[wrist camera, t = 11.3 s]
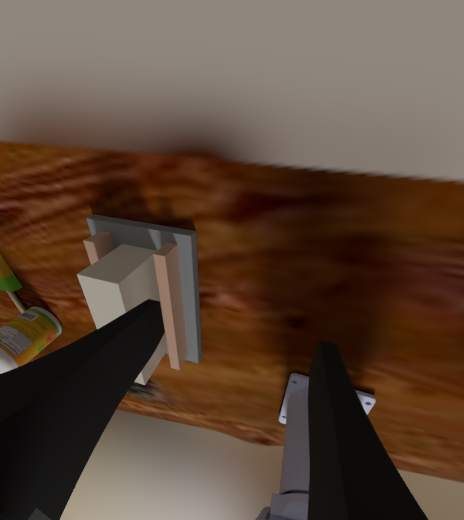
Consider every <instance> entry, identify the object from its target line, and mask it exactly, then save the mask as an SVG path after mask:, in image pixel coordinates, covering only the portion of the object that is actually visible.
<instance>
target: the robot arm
mask: <svg viewBox="0 0 464 520" xmlns="http://www.w3.org/2000/svg"><path fill="white" fill-rule="evenodd" d="M164 333H165V329H164V323H163V317H162V310H161V304H160V301H156V300H152V299H147V300H146V301H144V302H142V303H141V304H139V305H137V306H136V307H134V308H132V309H131V310H129V311H128V312H126V313H124V314H123V315H121V316H119V317H118V318H116V319H114V320H113V321H111V322H109V323H108V324H106V325H104V326H103V327H101V328H99V329H97V330H95V331H94V332H92V333H90V334H88V335H86V336H84V337H83V338H81V339H79V340H77V341H75V342H73V343H71V344H69V345H67V346H65V347H63V348H61V349H59V350H57V351H55V352H53V353H50V354H48V355H46V356H44V357H41V358H39V359H37V360H34V361H32V362H29V363H27V364H24V365H22V366H20V367H17V368H15V369H12V370H10V371H7V372H4V373H2V374H0V520H60V517H61V515H62V513H63V511H64V509H65V507H66V504H67V502H68V500H69V498H70V496H71V494H72V492H73V489H74V488H75V485H76V483H77V481H78V479H79V477H80V475H81V473H82V471H83V469H84V467H85V465H86V463H87V462H88V459H89V458H90V456H91V454H92V452H93V450H94V448H95V446H96V444H97V442H98V441H99V439H100V437H101V435H102V433H103V431H104V429H105V428H106V426H107V424H108V422H109V420H110V419H111V417H112V415H113V413H114V412H115V410H116V408H117V407H118V405H119V403H120V402H121V400H122V399H123V397H124V396H125V394H126V393H127V391H128V390H129V388H130V387H131V386H132V384H133V383H134V381H135V380H136V378H137V377H138V375H139V374H140V373H141V371H142V370H143V368H144V367H145V365H146V364H147V362H148V361H149V360H150V358H151V357H152V355H153V354H154V352H155V350H156V348H157V347H158V345H159V343H160V341H161V339H162V337H163V335H164ZM375 402H376V399H375V396H373V395H371V394H368V393H365V392H361V391H357V390H355V389H354V386H353V384H352V382H351V379H350V377H349V375H348V372H347V370H346V367H345V365H344V362H343V360H342V357H341V354H340V351H339V348H338V346H337V345H336V344H332V343H328V342H324V341H320V342H319V345H318V348H317V351H316V354H315V357H314V360H313V363H312V366H311V369H310V373H309V377H308V376H304V375H300V374H297V373H292V374H291V375H290V378H289V382H288V386H287V389H286V393H285V397H284V400H283V404H282V408H281V412H280V415H279V421H280V422H281V423H283V424H286V429H285V439H284V450H283V460H282V470H281V480H280V491H279V494H272V498H271V506H270V507H265V508H264V509H263V510H262V511H261V513H260V514H259V516H258V517H257V518H256V520H428V518H427V517H426V515H425V514H424V512H423V511H422V509H421V508H420V506H419V505H418V503H417V502H416V500H415V499H414V497H413V495H412V494H411V492H410V490H409V489H408V487H407V486H406V484H405V482H404V481H403V479H402V477H401V476H400V474H399V473H398V471H397V469H396V467H395V466H394V464H393V462H392V460H391V459H390V457H389V455H388V454H387V452H386V450H385V448H384V446H383V445H382V443H381V441H380V439H379V437H378V435H377V434H376V432H375V430H374V428H373V426H372V424H371V422H370V420H369V418H368V416H367V415H368V413H369V411H370V410H371V408H372V407H373V405H374V404H375Z"/></svg>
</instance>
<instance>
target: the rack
mask: <svg viewBox="0 0 464 520" xmlns="http://www.w3.org/2000/svg"><path fill="white" fill-rule="evenodd" d="M87 222H88V225H89V228H90V232H91V235H92V236H91V237H89V238H87V239H85V240H83V241H84V244H85V247H86V250H87V253H88V256H89V259H90V263H91V265H92V264H93V263H95V262H96V261H98V260H99V259H101V258H102V257H104V256H105V255H107V254H108V253H110V252H111V251H113V250H114V249H116V248H117V247H119V246H120V245H122V244H125V245H130V246H136V247H141V248H146V249H151V250H156V252H155V253H154V254H153V256H154V262H155V269H156V275H157V282H158V288H159V294H160V301H161V307H162V313H163V320H164V326H165V332H166V339H167V345H168V349H167V351H166V353H165V354H169V358H170V364H171V368H174V369H177V370H180V368H181V367H182V365H183V363H184V361H185V360H189V361H192V362H195V363H199V361H200V359H201V357H202V348H201V327H200V305H199V284H198V262H197V241H196V231H193V230H187V229H181V228H175V227H168V226H162V225H156V224H150V223H144V222H138V221H132V220H126V219H120V218H114V217H108V216H102V215H96V214H95V215H93V216H90V217H88V218H87Z"/></svg>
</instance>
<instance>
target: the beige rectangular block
mask: <svg viewBox="0 0 464 520" xmlns="http://www.w3.org/2000/svg"><path fill="white" fill-rule="evenodd" d="M155 252H156V250H151V249H146V248H141V247H136V246H130V245H125V244H122V245H120V246H119V247H117V248H116V249H114V250H113V251H111V252H110V253H108V254H107V255H105V256H104V257H102V258H101V259H99V260H98V261H96V262H95V263H93V264H92V265H90V266H89V267H87V268H86V269H84V270H83V271H81V272H80V273H78V274H77V276H78V279H79V281H80V284H81V287H82V289H83V292H84V295H85V298H86V300H87V303H88V306H89V309H90V311H91V314H92V317H93V319H94V322H95V325H96V328H97V329H99V328H101V327H103V326H104V325H106V324H108V323H109V322H111V321H113V320H114V319H116V318H118V317H119V316H121V315H123V314H124V313H126V312H128V311H129V310H131V309H132V308H134V307H136V306H137V305H139V304H141V303H142V302H144V301H146V300H147V299H152V300H156V301H160V294H159V288H158V282H157V275H156V269H155V262H154V256H153V254H154V253H155ZM160 304H161V301H160ZM161 310H162V307H161ZM162 317H163V313H162ZM163 323H164V320H163ZM164 329H165V326H164ZM167 349H168V345H167V339H166V332H165V333H164V335H163V337H162V339H161V341H160V343H159V345H158V347H157V348H156V350H155V352H154V354H153V355H152V357H151V358H150V360H149V361H148V362H147V364H146V365H145V367H144V368H143V370H142V371H141V373H140V374H139V375H138V377H137V378H136V380H135V382H137V383H140V384H143V385H145V384H146V383H147V381H148V379H149V378H150V376H151V375H152V373H153V372H154V370H155V368H156V367H157V365H158V364H159V362H160V361H161V359H162V357H163V356H164V354H165V353H166V351H167Z"/></svg>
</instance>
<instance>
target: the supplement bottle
mask: <svg viewBox="0 0 464 520" xmlns="http://www.w3.org/2000/svg"><path fill="white" fill-rule="evenodd" d="M61 332H62V326H61V324H60V322H59V321H58V319H57V318H56V317H55V316H54V315H53V314H51V313H50V312H49V311H47V310H45V309H43V308H41V307H31V308H30V309H28V310H26V311H25V312H23V313H22V314H20V315H19V316H18V317H16V318H15V319H13V320H12V321H10V322H9V323H7V324H6V325H4V326H3V327H1V328H0V374H2V373H4V372H7V371H10V370H12V369H15V368H17V367H20V366H22V365H24V364H26V363H27V362H28V361H30V360H31V359H32V358H33V357H34V356H35V355H37V354H38V353H39V352H40V351H41V350H42V349H43V348H45V347H46V346H47V345H48V344H49V343H50V342H52V341H53V340H54V339H55V338H56V337H57V336H59V335H60V334H61Z"/></svg>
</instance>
